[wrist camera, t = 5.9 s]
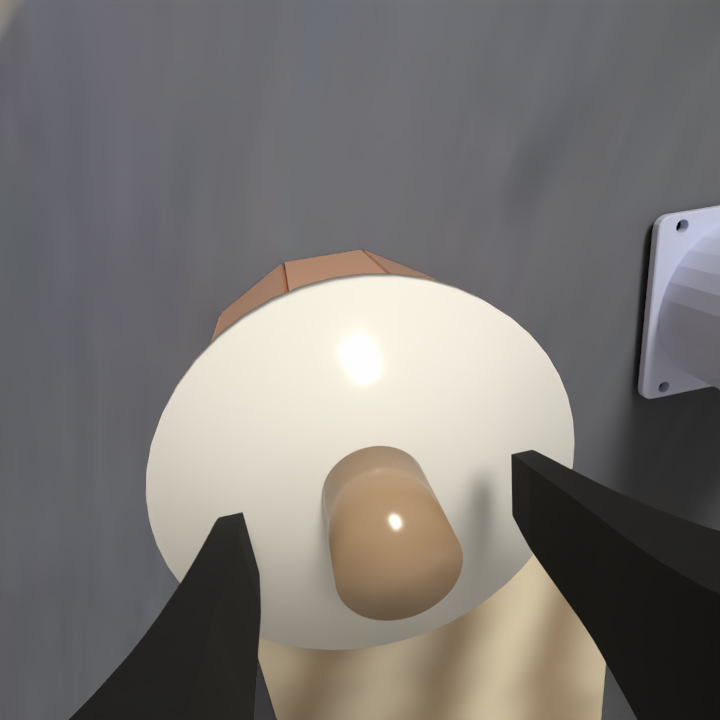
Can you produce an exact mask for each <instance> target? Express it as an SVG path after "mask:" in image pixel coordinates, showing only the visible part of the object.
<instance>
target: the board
mask: <svg viewBox="0 0 720 720" xmlns="http://www.w3.org/2000/svg"><path fill="white" fill-rule="evenodd" d="M258 659H259V662H260V666H261V669H262V672H263V675H264V679H265V682H266V685H267V689H268V692H269V695H270V699H271V702H272V705H273V709H274V712H275V715H276V718H277V720H601V714H602V702H603V691H604V679H605V667H606V662H605V660H604V658H603V656H602V655H601V653H600V651H599V649H598V648H597V646H596V644H595V642H594V641H593V639H592V637H591V636H590V634H589V633H588V631H587V630H586V628H585V627H584V625H583V624H582V622H581V621H580V619H579V618H578V616H577V615H576V613H575V612H574V611H573V609H572V608H571V606H570V605H569V604H568V602H567V601H566V599H565V598H564V597H563V595H562V594H561V592H560V591H559V590H558V588H557V587H556V585H555V584H554V582H553V581H552V580H551V578H550V577H549V575H548V574H547V573H546V571H545V570H544V568H543V567H542V565H541V564H540V563H539V561H538V560H537V558H536V557H535V555H534V554H533V555H532V557H531V558H530V559H529V560H528V562H527V563H526V564H525V565H524V567H523V568H522V569H521V570H520V571H519V572H518V573H517V574H516V575H515V576H514V577H513V578H512V579H511V580H510V581H509V582H508V583H507V584H506V585H504V586H503V587H502V588H501V589H500V590H498V591H497V592H496V593H495V594H493V595H492V596H491V597H490V598H489V599H487V600H486V601H484V602H483V603H481V604H480V605H478V606H477V607H475V608H474V609H472V610H471V611H469V612H468V613H466V614H464V615H462V616H460V617H459V618H457V619H455V620H453V621H451V622H449V623H448V624H445V625H443V626H441V627H438V628H436V629H434V630H431V631H429V632H427V633H424V634H421V635H418V636H415V637H412V638H409V639H406V640H403V641H399V642H394V643H390V644H386V645H381V646H376V647H368V648H360V649H347V650H322V649H306V648H301V647H295V646H289V645H283V644H280V643H276V642H273V641H269V640H266V639H262V638H259V648H258Z"/></svg>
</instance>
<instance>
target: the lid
mask: <svg viewBox="0 0 720 720" xmlns="http://www.w3.org/2000/svg"><path fill="white" fill-rule="evenodd" d="M529 450H534V451H537V452H539V453H541V454H543V455H545V456H547V457H549V458H551V459H553V460H554V461H556V462H558V463H560V464H562V465H564V466H566V467H568V468H570V469H572V467H573V455H574V429H573V418H572V414H571V409H570V405H569V400H568V397H567V394H566V391H565V389H564V386H563V384H562V381H561V379H560V376H559V374H558V373H557V371H556V369H555V367H554V366H553V364H552V362H551V361H550V359H549V357H548V356H547V354H546V353H545V352H544V351H543V349H542V348H541V347H540V346H539V344H538V343H537V342H536V341H535V340H534V338H533V337H532V336H531V335H530V334H529V333H528V332H527V331H525V330H524V329H523V328H522V327H521V326H520V325H519V324H517V323H516V322H515V321H514V320H513V319H512V318H510V317H509V316H507V315H506V314H504V313H502V312H501V311H499V310H498V309H496V308H495V307H493V306H491V305H490V304H488V303H487V302H485V301H483V300H482V299H480V298H479V297H477V296H475V295H473V294H470V293H468V292H466V291H464V290H461V289H459V288H457V287H455V286H452V285H449V284H446V283H442V282H439V281H435V280H432V279H428V278H424V277H418V276H410V275H403V274H395V273H363V274H355V275H348V276H340V277H333V278H329V279H325V280H321V281H318V282H314V283H310V284H306V285H303V286H300V287H297V288H295V289H293V290H290V291H288V292H285V293H283V294H281V295H278V296H276V297H273V298H271V299H269V300H268V301H266V302H264V303H262V304H261V305H259V306H257V307H256V308H254V309H252V310H250V311H249V312H247V313H245V314H244V315H242V316H241V317H240V318H238V319H237V320H236V321H234V322H233V323H232V324H231V325H229V326H228V327H227V328H225V329H224V330H223V331H221V332H220V333H219V334H218V335H217V336H216V337H215V338H214V339H213V340H212V341H211V342H210V343H209V344H208V345H207V346H206V347H205V348H204V349H203V350H202V351H201V352H200V353H199V354H198V355H197V357H196V358H195V359H194V361H193V362H192V363H191V365H190V366H189V368H188V369H187V370H186V372H185V373H184V374H183V376H182V377H181V378H180V380H179V382H178V384H177V386H176V388H175V389H174V391H173V393H172V395H171V397H170V399H169V401H168V402H167V404H166V407H165V409H164V411H163V414H162V416H161V419H160V421H159V424H158V427H157V430H156V433H155V435H154V438H153V441H152V444H151V449H150V455H149V460H148V466H147V474H146V500H147V507H148V514H149V521H150V524H151V527H152V531H153V534H154V537H155V540H156V543H157V546H158V548H159V550H160V552H161V554H162V556H163V558H164V560H165V561H166V563H167V565H168V567H169V569H170V570H171V571H172V573H173V574H174V575H175V577H176V578H177V580H178V581H179V582H180V583H181V582H182V580H183V578H184V577H185V575H186V573H187V572H188V570H189V568H190V567H191V565H192V563H193V562H194V560H195V558H196V556H197V555H198V553H199V551H200V549H201V547H202V546H203V544H204V542H205V540H206V538H207V536H208V535H209V533H210V531H211V529H212V527H213V525H214V523H215V522H216V520H217V519H218V518H219V517H223V516H227V515H232V514H237V513H241V512H243V515H244V519H245V522H246V526H247V530H248V533H249V537H250V540H251V544H252V548H253V551H254V555H255V559H256V562H257V566H258V570H259V573H260V595H261V621H260V635H259V638H262V639H266V640H269V641H273V642H276V643H280V644H283V645H289V646H295V647H301V648H306V649H322V650H347V649H360V648H368V647H376V646H381V645H386V644H390V643H394V642H399V641H403V640H406V639H409V638H412V637H415V636H418V635H421V634H424V633H427V632H429V631H431V630H434V629H436V628H438V627H441V626H443V625H445V624H448V623H449V622H451V621H453V620H455V619H457V618H459V617H460V616H462V615H464V614H466V613H468V612H469V611H471V610H472V609H474V608H475V607H477V606H478V605H480V604H481V603H483V602H484V601H486V600H487V599H489V598H490V597H491V596H492V595H493V594H495V593H496V592H497V591H498V590H500V589H501V588H502V587H503V586H504V585H506V584H507V583H508V582H509V581H510V580H511V579H512V578H513V577H514V576H515V575H516V574H517V573H518V572H519V571H520V570H521V569H522V568H523V567H524V565H525V564H526V563H527V562H528V560H529V559H530V558H531V557H532V555H533V552H532V551H531V550H530V548H529V546H528V544H527V543H526V541H525V539H524V537H523V535H522V533H521V531H520V529H519V528H518V526H517V524H516V522H515V520H514V518H513V516H512V471H511V454H515V453H519V452H524V451H529Z"/></svg>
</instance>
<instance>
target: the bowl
mask: <svg viewBox="0 0 720 720" xmlns="http://www.w3.org/2000/svg"><path fill="white" fill-rule="evenodd" d="M284 263H285V268H284V267H283V266H282V265H281V264H280V265H279V266H278V267H276V268H275V269H274V270H273V271H271V272H270V273H269V274H268V275H267V276H265V277H264V278H263V279H262V280H261V281H259V282H258V283H257V284H256V285H255V286H253V287H252V288H251V289H250V290H249V291H247V292H246V293H245V294H244V295H243V296H241V297H240V298H239V299H238V300H237V301H235V302H234V303H233V304H232V305H230V306H229V307H228V308H227V309H226V310H224V311H223V312H222V314H221V316H220V317H219V320H218V323H217V326H216V329H215V332H214V335H213V338H212V340H213V339H214V338H215V337H216V336H217V335H218V334H219V333H220V332H221V331H223V330H224V329H225V328H227V327H228V326H229V325H231V324H232V323H233V322H234V321H236V320H237V319H238V318H240V317H241V316H242V315H244V314H245V313H247V312H249V311H250V310H252V309H254V308H256V307H257V306H259V305H261V304H262V303H264V302H266V301H268V300H269V299H271V298H273V297H276V296H278V295H281V294H283V293H285V292H288V291H290V290H293V289H295V288H297V287H300V286H303V285H306V284H310V283H314V282H318V281H321V280H325V279H329V278H333V277H340V276H348V275H355V274H363V273H395V274H403V275H410V276H418V277H424V278H428V279H432V280H435V279H433V278H432V277H430V276H428V275H425V274H423V273H420V272H418V271H415V270H413V269H410V268H408V267H405V266H403V265H400V264H398V263H395V262H393V261H390V260H388V259H385V258H383V257H380V256H378V255H375V254H373V253H370V252H368V251H365V250H364V252H362V251H361V250H356V251H350V252H344V253H338V254H332V255H325V256H319V257H313V258H307V259H301V260H295V261H289V262H284ZM435 281H436V280H435Z"/></svg>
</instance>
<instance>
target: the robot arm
mask: <svg viewBox="0 0 720 720" xmlns="http://www.w3.org/2000/svg"><path fill="white" fill-rule="evenodd" d="M679 221H681V225H680V228H679V229H678V230H676V226H677V224H678V222H679ZM661 383H663V384H662V386H661V387H660V388H659V385H660V384H661ZM711 386H714V387H716V388H718V389H720V205H719V206H713V207H707V208H701V209H695V210H688V211H682V212H676V213H670V214H665V215H662V216H660V217H659V218H658V219H657V220H656V222H655V223H654V226H653V230H652V241H651V252H650V263H649V273H648V284H647V295H646V306H645V317H644V327H643V338H642V349H641V360H640V370H639V381H638V392H639V394H640V395H642V396H643V397H645V398H647V399H654V398H658V397H663V396H668V395H673V394H677V393H682V392H687V391H692V390H697V389H701V388H706V387H711ZM511 471H512V516H513V518H514V520H515V522H516V524H517V526H518V528H519V529H520V531H521V533H522V535H523V537H524V539H525V541H526V543H527V544H528V546H529V548H530V550H531V551H532V552H533V554H534V555H535V557H536V558H537V560H538V561H539V563H540V564H541V565H542V567H543V568H544V570H545V571H546V573H547V574H548V575H549V577H550V578H551V580H552V581H553V582H554V584H555V585H556V587H557V588H558V590H559V591H560V592H561V594H562V595H563V597H564V598H565V599H566V601H567V602H568V604H569V605H570V606H571V608H572V609H573V611H574V612H575V613H576V615H577V616H578V618H579V619H580V621H581V622H582V624H583V625H584V627H585V628H586V630H587V631H588V633H589V634H590V636H591V637H592V639H593V641H594V642H595V644H596V646H597V648H598V649H599V651H600V653H601V655H602V656H603V658H604V660H605V662H606V663H607V665H608V667H609V668H610V670H611V672H612V674H613V675H614V677H615V679H616V681H617V683H618V685H619V686H620V688H621V690H622V692H623V694H624V695H625V697H626V699H627V701H628V703H629V705H630V706H631V708H632V710H633V712H634V714H635V716H636V717H637V719H638V720H720V531H717V530H713V529H710V528H707V527H704V526H701V525H698V524H695V523H692V522H689V521H686V520H683V519H681V518H678V517H675V516H672V515H670V514H667V513H664V512H662V511H659V510H656V509H654V508H652V507H649V506H647V505H644V504H642V503H640V502H637V501H635V500H633V499H631V498H628V497H626V496H624V495H622V494H620V493H617V492H615V491H613V490H611V489H609V488H607V487H605V486H603V485H601V484H599V483H597V482H595V481H593V480H591V479H589V478H587V477H585V476H583V475H581V474H579V473H577V472H575V471H573V470H572V469H570V468H568V467H566V466H564V465H562V464H560V463H558V462H556V461H554V460H553V459H551V458H549V457H547V456H545V455H543V454H541V453H539V452H537V451H534V450H529V451H524V452H519V453H515V454H511ZM260 621H261V595H260V573H259V570H258V566H257V562H256V559H255V555H254V551H253V548H252V544H251V540H250V537H249V533H248V530H247V526H246V522H245V519H244V515H243V512H241V513H237V514H232V515H227V516H223V517H219V518H218V519H217V520H216V522H215V523H214V525H213V527H212V529H211V531H210V533H209V535H208V536H207V538H206V540H205V542H204V544H203V546H202V547H201V549H200V551H199V553H198V555H197V556H196V558H195V560H194V562H193V563H192V565H191V567H190V568H189V570H188V572H187V573H186V575H185V577H184V578H183V580H182V582H181V583H180V585H179V586H178V588H177V589H176V591H175V592H174V594H173V595H172V597H171V598H170V600H169V601H168V603H167V604H166V606H165V607H164V609H163V610H162V612H161V613H160V615H159V616H158V618H157V619H156V620H155V622H154V623H153V624H152V626H151V627H150V629H149V630H148V631H147V633H146V634H145V635H144V637H143V638H142V639H141V640H140V642H139V643H138V644H137V645H136V647H135V648H134V649H133V651H132V652H131V653H130V654H129V655H128V657H127V658H126V659H125V660H124V661H123V662H122V664H121V665H120V666H119V667H118V668H117V669H116V670H115V671H114V672H113V674H112V675H111V676H110V677H109V678H108V679H107V680H106V681H105V682H104V684H103V685H102V686H101V687H100V688H99V689H98V690H97V691H96V692H95V694H94V695H93V696H92V697H91V698H90V699H89V700H88V701H87V702H86V703H85V704H84V705H83V706H82V707H81V708H80V709H79V710H78V711H77V712H76V713H75V714H74V715H73V716H72V717H71V718H70V719H69V720H254V699H255V687H256V674H257V661H258V648H259V635H260Z"/></svg>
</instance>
